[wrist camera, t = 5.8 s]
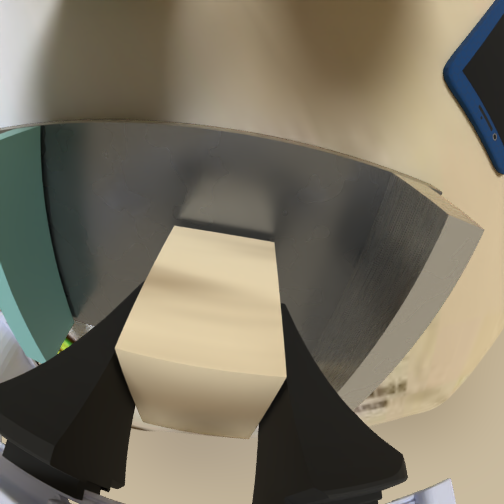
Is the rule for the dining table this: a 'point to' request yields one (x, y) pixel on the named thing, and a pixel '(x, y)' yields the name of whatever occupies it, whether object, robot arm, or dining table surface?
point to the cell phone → (482, 80)
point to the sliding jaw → (28, 251)
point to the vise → (258, 230)
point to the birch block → (206, 335)
